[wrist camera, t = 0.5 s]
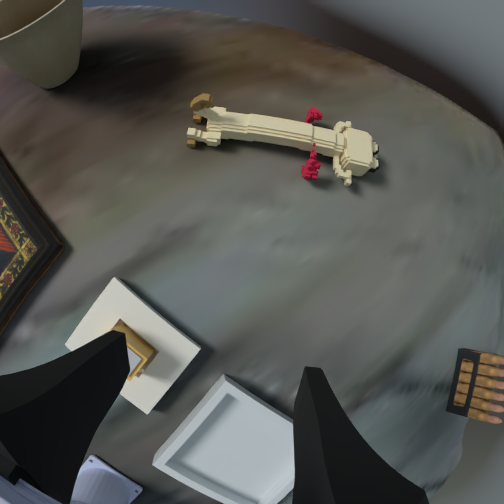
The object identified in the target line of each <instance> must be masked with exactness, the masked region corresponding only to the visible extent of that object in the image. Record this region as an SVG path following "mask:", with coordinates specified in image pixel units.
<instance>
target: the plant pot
mask: <svg viewBox="0 0 504 504" xmlns="http://www.w3.org/2000/svg"><path fill="white" fill-rule="evenodd" d="M82 19H83V6H82V0H0V62H2V63H3V64H4V65H5V66H7V67H8V68H9V69H11V70H12V71H14V72H15V73H16V74H18V75H20V76H21V77H23V78H24V79H26V80H28V81H30V82H32V83H33V84H35V85H37V86H39V87H42V88H45V89H50V88H54V87H57V86H59V85H61V84H63V83H64V82H66V81H67V80H68V79H70V78H71V77H72V76H73V74H74V73H75V72H76V70H77V68H78V64H79V58H80V50H81V40H82Z"/></svg>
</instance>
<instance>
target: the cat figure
mask: <svg viewBox="0 0 504 504" xmlns="http://www.w3.org/2000/svg"><path fill="white" fill-rule="evenodd" d="M212 104H213V96H210V94H202V95H199V96H197V97H196V98H194V100H192V102H191V106H190V109H191V111H193V113H194V116H193V122H194V123H200V122H201V120H202V116H203V117H204V118H207V119H208V121H207V127H206V129H207V132H201V130H198V129H195V128H188V132H187V137H188V141H187V146H188V147H195V145H196V142H197V140H198V141H200V142H205V143H207V146H216V147H217V146H218V145H220V142H221V139H229V138H230V139H238V140H245V141H252V142H253V140H254V141H260V142H267V143H273V144H279V145H285V146H291V147H296V148H299V149H301V150H306V151H311V153H310V159H308V160H307V162H306V166H305V167H304V166H302V170H301V172H302V177H304V178H303V179H309V178H311V179H313V180H316V179H317V177H318V171H317V169H320V166H321V163H320V162H319V160H316V161H315V159H316V155H317V153H321V154H322V155H325V156H330V157H333V170H335V175H337V177H338V178H343V179H344V185H346V186H349V185H350V184H351V175H355V176H362V175H363V174H365V173H366V172H367V171H369V172H373V173H374V172H375V171H376V170H378V169H379V162H378V160H377V159H376V158H378V155H376V154H377V153H378V152H379V147H378V146H377V144H376V143H375V142H374V141H372V137H371V136H370V135H369V133H368V132H364V131H360V130H356V129H353V128H351V122H350V121H346V123H345V122H341V121H339V122H338V123H337V124H336V126H335V127H334V130H330V129H325V128H321V127H316V126H312V124H310V122H313V121H314V119H315V120H321V119H322V113H320V111H319V110H316V109H315V107H311V109H309V110H308V112H307V118H306V122H305V123H303V122H298V121H293V120H287V119H282V118H276V117H270V116H264V115H257V114H250V115H248V114H240V113H233V112H226V108H223V107H214V108H209V107H212ZM343 128H344V132H343V133H340V132H341V131H342V129H343Z"/></svg>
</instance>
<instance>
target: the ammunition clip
mask: <svg viewBox="0 0 504 504" xmlns="http://www.w3.org/2000/svg"><path fill="white" fill-rule="evenodd" d="M469 361H473V362H469ZM485 363H486V364H492V365H495V364H500V365H501V364H502V365H504V356H500V355H497V354H493V353H485V352H480V351H475V350H470V349H458V356H457V361H456V367H455V372H454V377H453V382H452V387H451V391H450V396H449V400H448V404H447V408H446V411H448V412H451V413H454V414H458V415H461V416H465V417H470V418H474V419H476V420H479V421H486V422H490V423H502V420H501V419H500V418H498V417H497V416H494V415H491V414H489V413H486V412H485V411H483V410H488V411H493V412H504V408H503V407H502V406H500V405H498V404H495V403H492V402H490V401H487V400H485V399H492V400H498V401H504V394H501V393H499V392H495V391H492V390H491V389H488V388H497V389H504V382H503V381H499V380H496V379H494V378H491V377H486V376H498V377H504V369H501V368H498V367H495V366H492V365H486V364H485ZM468 372H471V373H468ZM477 374H478V375H477ZM483 375H486V376H483ZM464 382H465V383H464ZM468 383H469V384H468ZM480 386H482V387H480ZM484 387H486V388H484ZM478 397H479V398H478ZM482 398H483V399H482ZM477 408H478V409H477ZM480 409H481V410H480Z"/></svg>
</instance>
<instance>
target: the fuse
mask: <svg viewBox="0 0 504 504" xmlns="http://www.w3.org/2000/svg"><path fill="white" fill-rule="evenodd" d="M111 330H115V331H119V332H123V333H125V335H126V343H127V350H128V357H129V364H130V373H129V375H128V377H127V379H128V380H129V381H131V380H132V379H133V377H134V376H135V375H136V373H137V372H138V371H139V370H140V368H141V367H142V366H143V364H144V363H145V362H146V361H147V359H148V358H149V357H150V355H151V354H152V353H153V351H154V350H155V349H154V348H153V347H152V346H150V345H149V344H148V343H147V342H145V341H144V340H143V339H142V338H141V337H139V336H138V335H137V334H136V333H135V332H133V331H132V330H131V329H130V328H129V327H128V326H126V325H125V324H121V325H119V326H116V327H114V328H111V329H110V331H111Z"/></svg>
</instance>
